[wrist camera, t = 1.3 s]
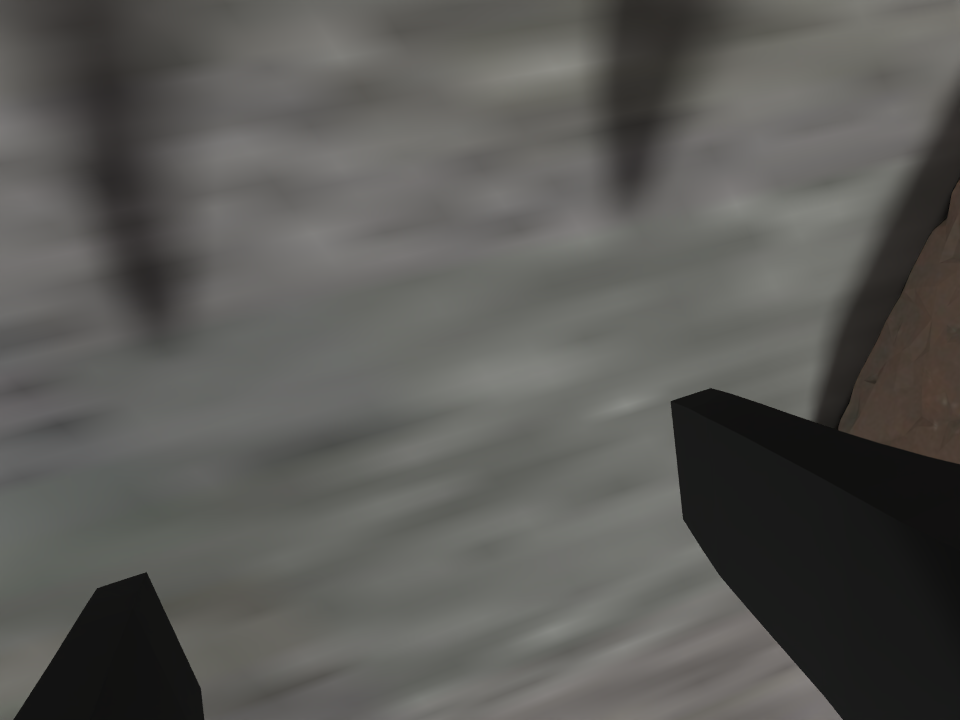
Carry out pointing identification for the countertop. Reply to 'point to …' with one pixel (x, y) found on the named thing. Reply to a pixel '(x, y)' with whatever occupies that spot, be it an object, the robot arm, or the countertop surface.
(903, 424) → the brick
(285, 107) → the countertop surface
